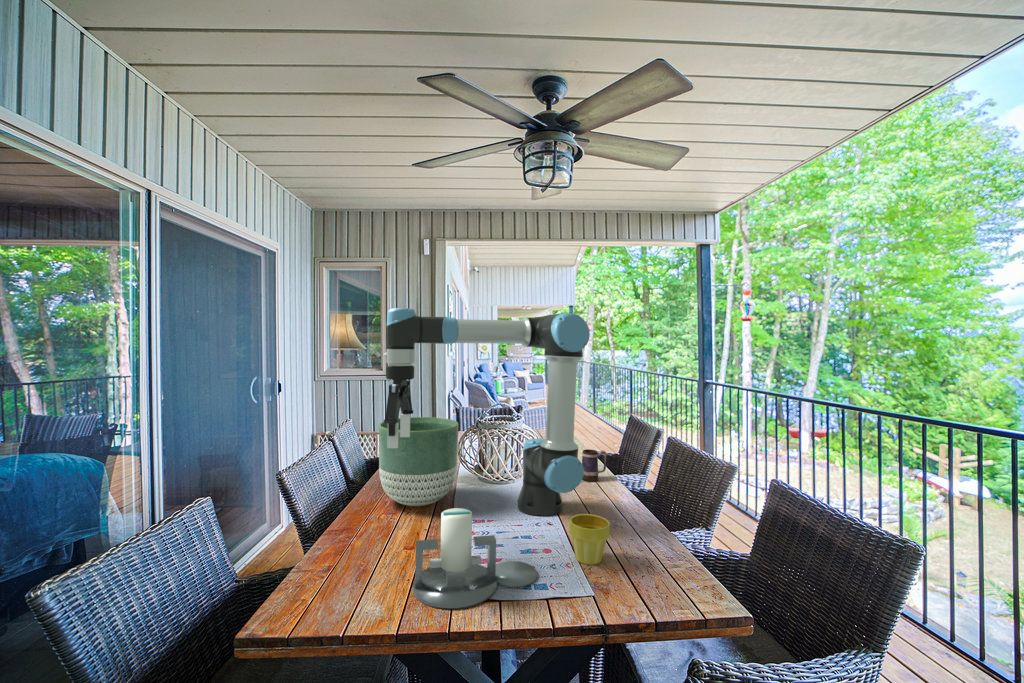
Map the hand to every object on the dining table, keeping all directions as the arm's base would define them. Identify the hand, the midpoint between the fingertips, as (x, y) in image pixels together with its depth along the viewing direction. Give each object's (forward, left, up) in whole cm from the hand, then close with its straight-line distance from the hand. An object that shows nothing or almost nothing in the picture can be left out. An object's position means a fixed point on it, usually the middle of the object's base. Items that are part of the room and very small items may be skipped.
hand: (399, 442), depth 126 cm
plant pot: (-49, +18, -28) cm, 59 cm away
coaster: (-28, +23, -28) cm, 45 cm away
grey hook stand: (-14, +25, -28) cm, 39 cm away
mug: (-76, -46, -28) cm, 93 cm away
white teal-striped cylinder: (-14, +25, -23) cm, 36 cm away
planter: (-6, -31, -28) cm, 42 cm away
